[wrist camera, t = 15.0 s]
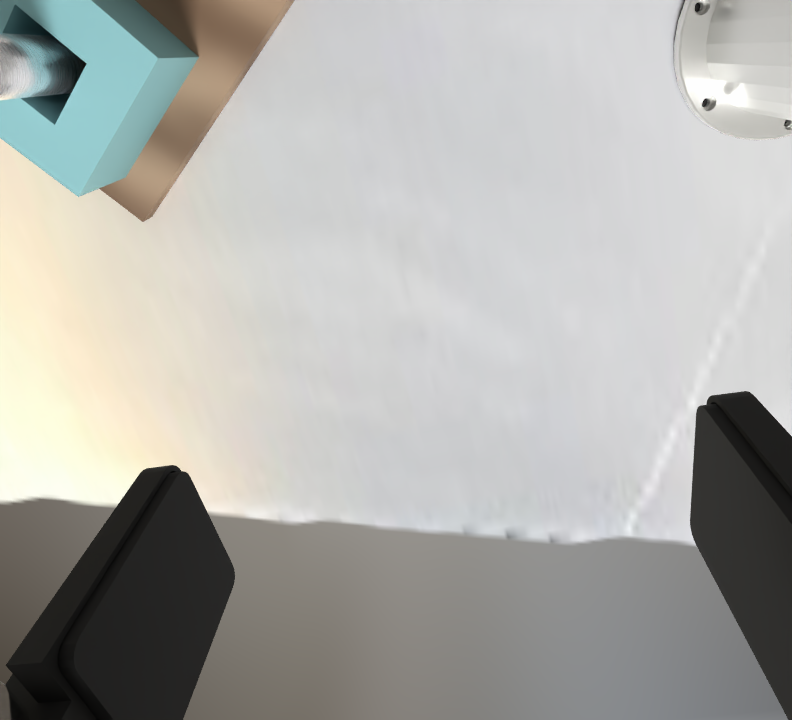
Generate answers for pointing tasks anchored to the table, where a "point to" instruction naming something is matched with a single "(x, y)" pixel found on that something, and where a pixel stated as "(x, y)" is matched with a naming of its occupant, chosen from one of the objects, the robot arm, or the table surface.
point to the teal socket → (94, 88)
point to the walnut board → (196, 87)
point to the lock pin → (36, 66)
